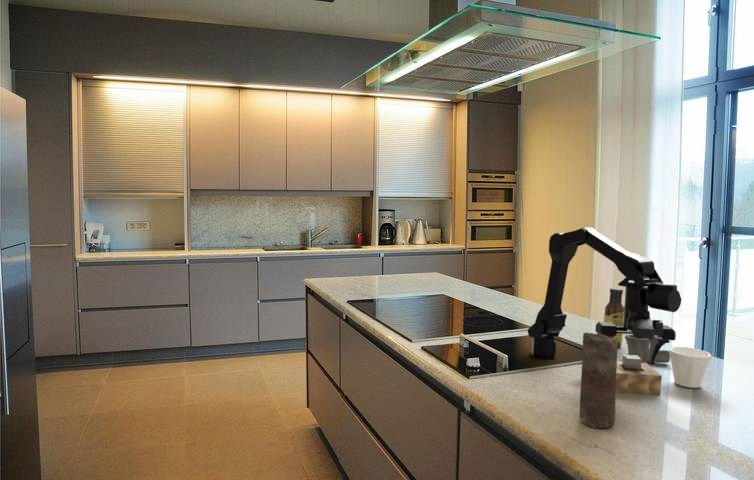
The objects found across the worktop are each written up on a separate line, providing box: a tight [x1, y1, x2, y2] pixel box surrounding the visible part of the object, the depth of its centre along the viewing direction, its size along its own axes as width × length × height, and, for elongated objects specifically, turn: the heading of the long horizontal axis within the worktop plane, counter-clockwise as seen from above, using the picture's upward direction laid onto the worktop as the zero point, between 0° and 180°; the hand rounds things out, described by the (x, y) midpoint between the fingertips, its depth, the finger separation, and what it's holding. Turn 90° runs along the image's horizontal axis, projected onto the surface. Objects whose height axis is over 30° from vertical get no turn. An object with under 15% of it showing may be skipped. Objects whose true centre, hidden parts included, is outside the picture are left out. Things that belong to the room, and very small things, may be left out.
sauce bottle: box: [603, 287, 624, 349], centre depth 185 cm, size 6×6×20 cm
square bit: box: [622, 354, 642, 371], centre depth 145 cm, size 4×4×8 cm
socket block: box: [616, 360, 663, 396], centre depth 145 cm, size 11×11×5 cm
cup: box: [668, 346, 712, 389], centre depth 147 cm, size 10×10×9 cm
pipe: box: [624, 334, 671, 364], centre depth 167 cm, size 6×13×8 cm, turn 78°
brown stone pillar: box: [579, 332, 618, 429], centre depth 120 cm, size 8×7×20 cm
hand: (632, 362), depth 145 cm, fingers open, 9 cm apart
